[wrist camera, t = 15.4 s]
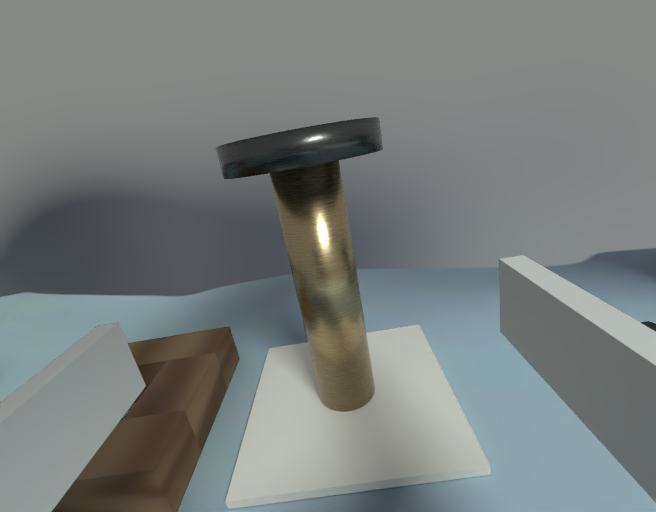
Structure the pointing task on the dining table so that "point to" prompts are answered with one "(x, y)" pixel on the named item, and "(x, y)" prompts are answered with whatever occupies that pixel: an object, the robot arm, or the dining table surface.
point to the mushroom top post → (318, 243)
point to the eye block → (159, 427)
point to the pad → (353, 428)
